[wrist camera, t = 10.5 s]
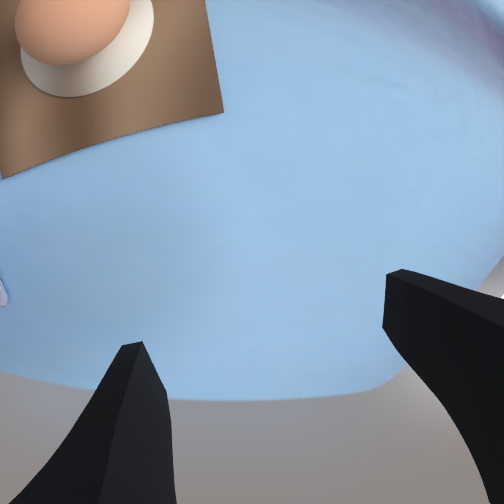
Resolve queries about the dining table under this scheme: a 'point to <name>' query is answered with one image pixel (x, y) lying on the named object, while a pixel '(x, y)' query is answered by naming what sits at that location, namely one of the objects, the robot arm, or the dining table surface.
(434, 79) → the dining table surface
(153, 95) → the walnut pad
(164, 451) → the robot arm
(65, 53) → the ball
